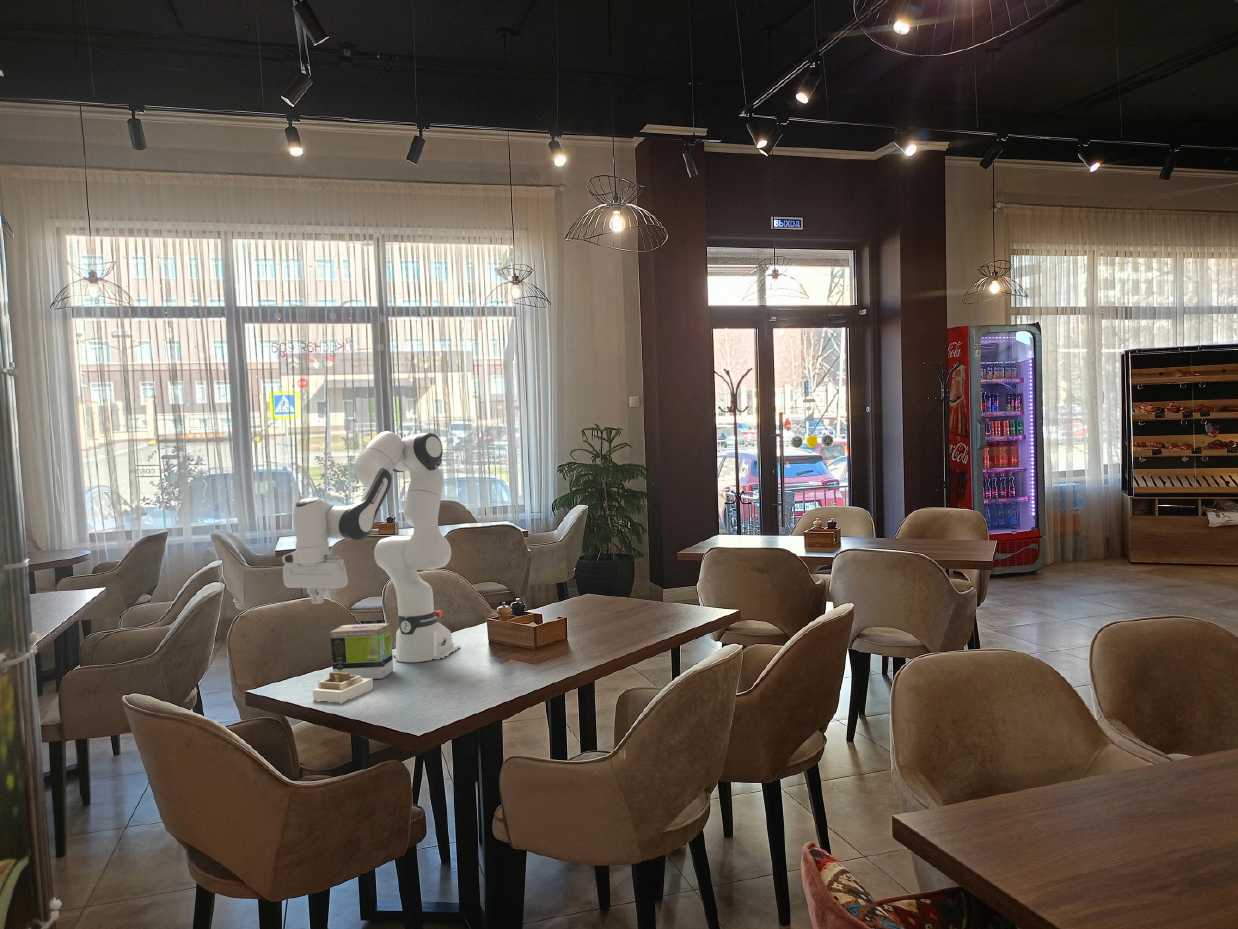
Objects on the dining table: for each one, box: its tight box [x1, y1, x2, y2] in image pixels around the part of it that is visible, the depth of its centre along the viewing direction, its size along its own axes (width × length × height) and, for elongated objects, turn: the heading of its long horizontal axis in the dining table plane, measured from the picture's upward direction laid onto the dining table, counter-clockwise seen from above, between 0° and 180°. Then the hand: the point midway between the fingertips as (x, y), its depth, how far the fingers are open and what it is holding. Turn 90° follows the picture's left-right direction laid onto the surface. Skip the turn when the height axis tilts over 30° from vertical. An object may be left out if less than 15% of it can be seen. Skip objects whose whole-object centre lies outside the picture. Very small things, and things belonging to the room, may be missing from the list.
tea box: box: [329, 622, 394, 680], centre depth 257 cm, size 15×10×15 cm, turn 84°
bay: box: [312, 678, 374, 704], centre depth 237 cm, size 13×10×3 cm
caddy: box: [317, 671, 362, 690], centre depth 237 cm, size 8×8×6 cm
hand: (317, 603), depth 246 cm, fingers closed
